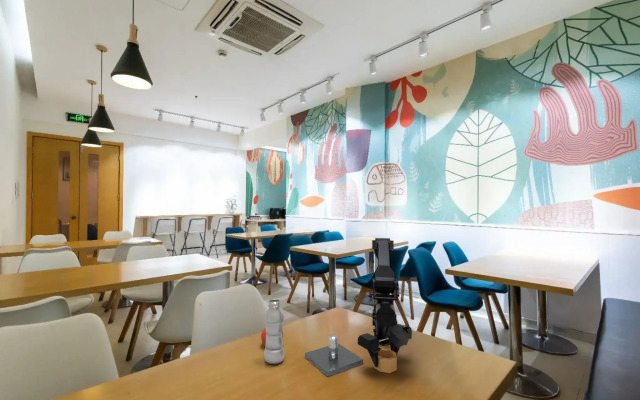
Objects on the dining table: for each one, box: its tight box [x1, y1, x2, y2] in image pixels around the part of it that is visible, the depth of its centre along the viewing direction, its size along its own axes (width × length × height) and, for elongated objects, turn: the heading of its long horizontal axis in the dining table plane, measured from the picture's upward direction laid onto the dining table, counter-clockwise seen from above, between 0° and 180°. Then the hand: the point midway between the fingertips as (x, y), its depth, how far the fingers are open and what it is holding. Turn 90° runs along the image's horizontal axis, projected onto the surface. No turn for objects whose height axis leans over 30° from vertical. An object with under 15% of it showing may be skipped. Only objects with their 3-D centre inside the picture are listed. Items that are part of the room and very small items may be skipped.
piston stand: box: [304, 334, 364, 378], centre depth 99 cm, size 14×14×8 cm
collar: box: [373, 348, 398, 374], centre depth 95 cm, size 7×7×4 cm
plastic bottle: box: [263, 298, 285, 365], centre depth 98 cm, size 6×7×20 cm
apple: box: [260, 328, 284, 346], centre depth 110 cm, size 8×8×8 cm
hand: (385, 363), depth 95 cm, fingers open, 8 cm apart
